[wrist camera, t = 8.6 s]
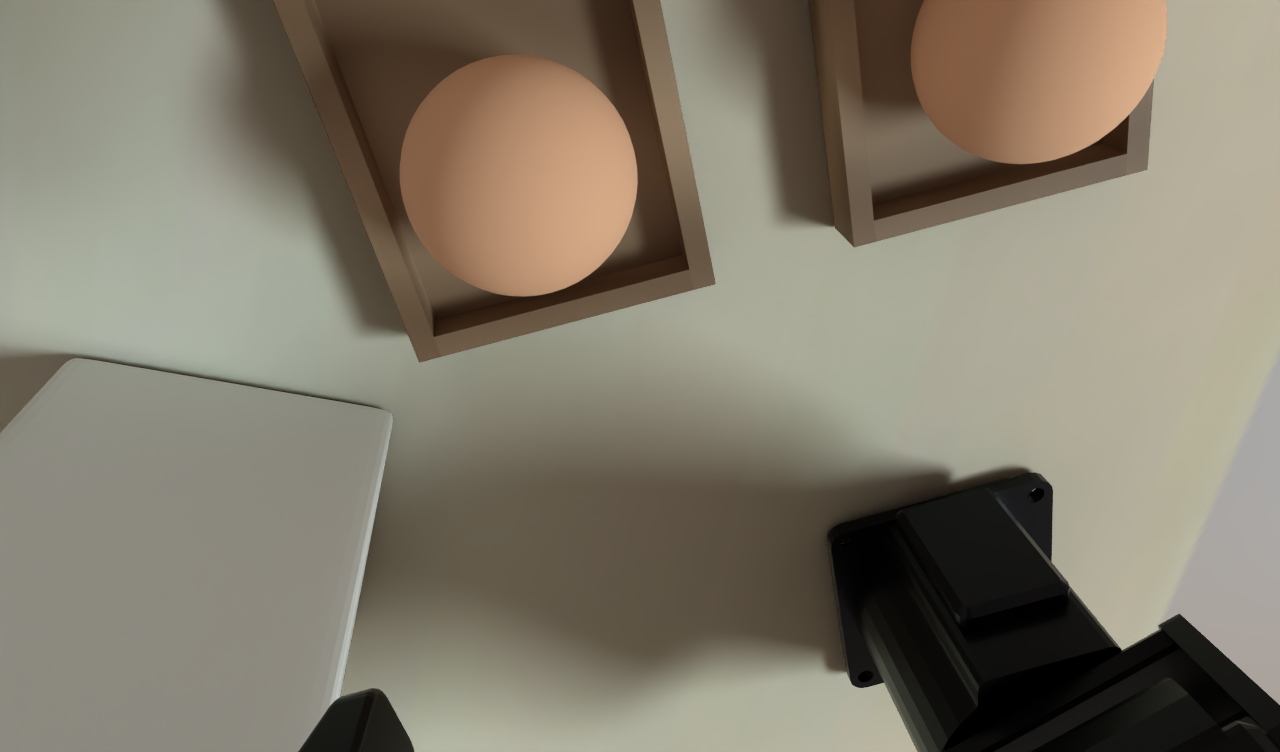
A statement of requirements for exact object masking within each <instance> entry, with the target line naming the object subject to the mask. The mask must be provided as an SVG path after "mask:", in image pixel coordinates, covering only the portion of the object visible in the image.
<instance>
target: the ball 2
mask: <svg viewBox="0 0 1280 752" xmlns="http://www.w3.org/2000/svg"><path fill="white" fill-rule="evenodd" d="M1166 36H1167V7H1166V0H924V2H923V4H922V6H921V8H920V11H919V14H918V17H917V19H916V23H915V27H914V31H913V35H912V44H911V70H912V78H913V82H914V85H915V89H916V93H917V96H918V98H919V101H920V103H921V105H922V108H923V109H924V111H925V112H926V114H927V116H928V117H929V119H930V120H931V122H932V123H933V124H934V125H935V127H936V128H937V129H938V130H939V131H940V132H941V133H942V134H943V135H944V136H945V137H946V138H948V139H949V140H950V141H951V142H953V143H954V144H955V145H957V146H958V147H960V148H962V149H963V150H965V151H967V152H969V153H971V154H974V155H976V156H979V157H981V158H984V159H987V160H991V161H996V162H1001V163H1010V164H1031V163H1041V162H1046V161H1051V160H1055V159H1058V158H1062V157H1065V156H1068V155H1070V154H1073V153H1075V152H1078V151H1080V150H1082V149H1084V148H1086V147H1088V146H1090V145H1091V144H1093V143H1095V142H1096V141H1098V140H1100V139H1101V138H1102V137H1104V136H1105V135H1106V134H1108V133H1109V132H1110V131H1112V130H1113V129H1114V128H1115V127H1117V126H1118V125H1119V124H1120V123H1121V122H1122V121H1123V120H1124V119H1125V118H1126V117H1127V116H1128V115H1129V114H1130V113H1131V112H1132V111H1133V109H1134V108H1135V107H1136V106H1137V104H1138V103H1139V102H1140V100H1141V99H1142V98H1143V96H1144V95H1145V93H1146V91H1147V90H1148V88H1149V87H1150V85H1151V83H1152V81H1153V79H1154V77H1155V75H1156V73H1157V70H1158V67H1159V65H1160V62H1161V59H1162V56H1163V52H1164V48H1165V43H1166Z"/></svg>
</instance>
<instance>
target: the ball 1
mask: <svg viewBox="0 0 1280 752" xmlns="http://www.w3.org/2000/svg"><path fill="white" fill-rule="evenodd" d="M637 185H638V179H637V164H636V158H635V152H634V148H633V145H632V142H631V138H630V135H629V133H628V130H627V128H626V126H625V124H624V122H623V120H622V118H621V116H620V115H619V113H618V112H617V110H616V108H615V107H614V106H613V104H612V103H611V102H610V101H609V100H608V98H607V97H606V96H605V95H604V94H603V93H602V92H601V91H600V90H599V89H598V88H597V87H596V86H595V85H594V84H593V83H592V82H591V81H589V80H588V79H586V78H585V77H584V76H582V75H581V74H579V73H578V72H576V71H574V70H572V69H570V68H569V67H567V66H565V65H562V64H560V63H557V62H554V61H552V60H549V59H545V58H540V57H536V56H528V55H500V56H495V57H490V58H485V59H482V60H479V61H476V62H473V63H470V64H468V65H466V66H464V67H462V68H460V69H458V70H456V71H455V72H453V73H452V74H450V75H449V76H448V77H446V78H445V79H443V80H442V81H441V82H440V83H439V84H438V85H437V86H436V87H435V88H434V89H433V90H432V91H431V92H430V93H429V94H428V96H427V97H426V98H425V99H424V100H423V102H422V103H421V104H420V106H419V107H418V109H417V111H416V112H415V114H414V116H413V117H412V119H411V122H410V124H409V126H408V129H407V131H406V134H405V138H404V142H403V146H402V151H401V160H400V187H401V193H402V199H403V202H404V206H405V209H406V212H407V215H408V218H409V220H410V222H411V225H412V227H413V229H414V231H415V233H416V235H417V236H418V238H419V239H420V241H421V243H422V244H423V245H424V247H425V248H426V249H427V250H428V252H429V253H430V254H431V255H432V256H433V257H434V258H435V259H436V260H437V261H438V262H439V263H440V264H441V265H442V266H443V267H444V268H445V269H447V270H448V271H449V272H451V273H452V274H453V275H455V276H456V277H458V278H459V279H461V280H463V281H465V282H466V283H468V284H470V285H472V286H475V287H477V288H480V289H482V290H485V291H489V292H492V293H496V294H501V295H507V296H524V297H525V296H537V295H543V294H548V293H552V292H555V291H558V290H561V289H565V288H567V287H569V286H571V285H573V284H575V283H577V282H579V281H581V280H582V279H584V278H585V277H587V276H588V275H590V274H591V273H592V272H593V271H595V270H596V269H597V268H598V267H600V266H601V264H602V263H603V262H604V261H605V260H606V259H607V258H608V257H609V256H610V255H611V254H612V252H613V251H614V250H615V248H616V247H617V245H618V244H619V243H620V241H621V239H622V237H623V236H624V234H625V232H626V230H627V227H628V225H629V222H630V220H631V217H632V213H633V209H634V205H635V201H636V194H637Z"/></svg>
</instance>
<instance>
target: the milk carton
mask: <svg viewBox="0 0 1280 752" xmlns="http://www.w3.org/2000/svg"><path fill="white" fill-rule="evenodd" d="M392 425H393V415H392V414H391V413H390V412H389V411H386V410H382V409H378V408H373V407H367V406H362V405H356V404H350V403H344V402H339V401H333V400H327V399H321V398H315V397H309V396H303V395H297V394H291V393H286V392H280V391H274V390H268V389H262V388H256V387H250V386H244V385H238V384H233V383H227V382H221V381H215V380H209V379H203V378H197V377H191V376H186V375H180V374H174V373H168V372H162V371H156V370H150V369H144V368H138V367H133V366H127V365H121V364H115V363H109V362H103V361H96V360H89V359H81V358H74V359H71V360H69V361H67V362H66V363H65V364H64V365H62V366H61V368H60V369H59V370H58V371H57V372H56V373H55V374H54V375H53V376H52V377H51V378H50V379H49V380H48V382H47V383H46V384H45V385H44V386H43V387H42V388H41V389H40V390H39V391H38V392H37V393H36V395H35V396H34V397H33V398H32V399H31V400H30V401H29V402H28V403H27V404H26V405H25V406H24V407H23V409H22V410H21V411H20V412H19V413H18V414H17V415H16V416H15V417H14V418H13V419H12V420H11V421H10V423H9V424H8V425H7V426H6V427H5V428H4V429H3V430H2V431H1V432H0V752H298V751H299V749H300V748H301V747H302V745H303V744H304V742H305V741H306V739H307V738H308V737H309V735H310V734H311V732H312V731H313V729H314V728H315V726H316V725H317V724H318V722H319V721H320V719H321V718H322V716H323V715H324V714H325V712H326V711H327V709H328V708H329V706H330V705H331V704H332V703H333V702H334V701H335V700H336V699H338V698H340V696H341V691H342V686H343V681H344V676H345V671H346V666H347V661H348V656H349V651H350V646H351V641H352V636H353V631H354V625H355V620H356V615H357V609H358V604H359V599H360V594H361V588H362V583H363V578H364V572H365V567H366V562H367V557H368V551H369V546H370V541H371V535H372V530H373V525H374V520H375V514H376V509H377V504H378V499H379V493H380V488H381V483H382V477H383V472H384V467H385V462H386V456H387V451H388V446H389V440H390V435H391V430H392Z"/></svg>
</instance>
